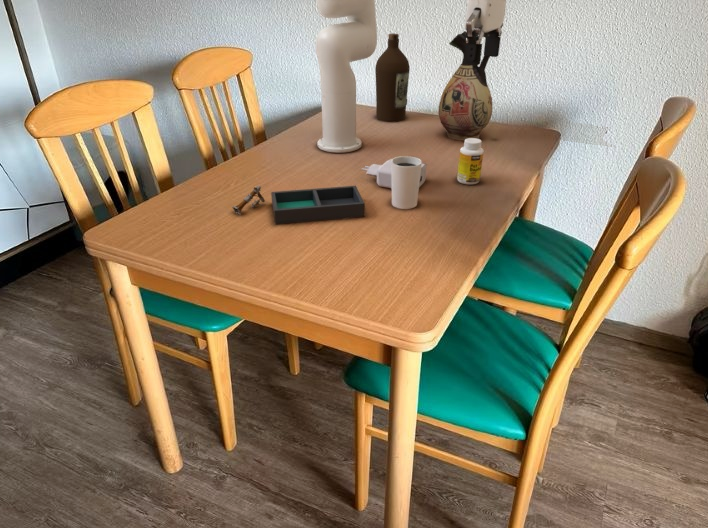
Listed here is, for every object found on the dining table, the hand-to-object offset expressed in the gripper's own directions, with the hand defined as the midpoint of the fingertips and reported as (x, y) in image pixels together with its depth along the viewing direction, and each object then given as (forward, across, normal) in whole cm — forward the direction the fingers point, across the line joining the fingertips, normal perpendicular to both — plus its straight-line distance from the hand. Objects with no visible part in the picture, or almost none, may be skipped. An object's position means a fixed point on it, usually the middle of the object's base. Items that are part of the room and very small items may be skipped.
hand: (481, 60), depth 122 cm
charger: (+29, +7, -17) cm, 35 cm away
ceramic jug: (+29, -35, -17) cm, 49 cm away
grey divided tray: (+29, +30, -22) cm, 48 cm away
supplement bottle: (+29, -4, -2) cm, 30 cm away
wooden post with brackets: (+29, +38, -36) cm, 60 cm away
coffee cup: (+29, +16, -8) cm, 34 cm away
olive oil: (+29, -40, -45) cm, 67 cm away
